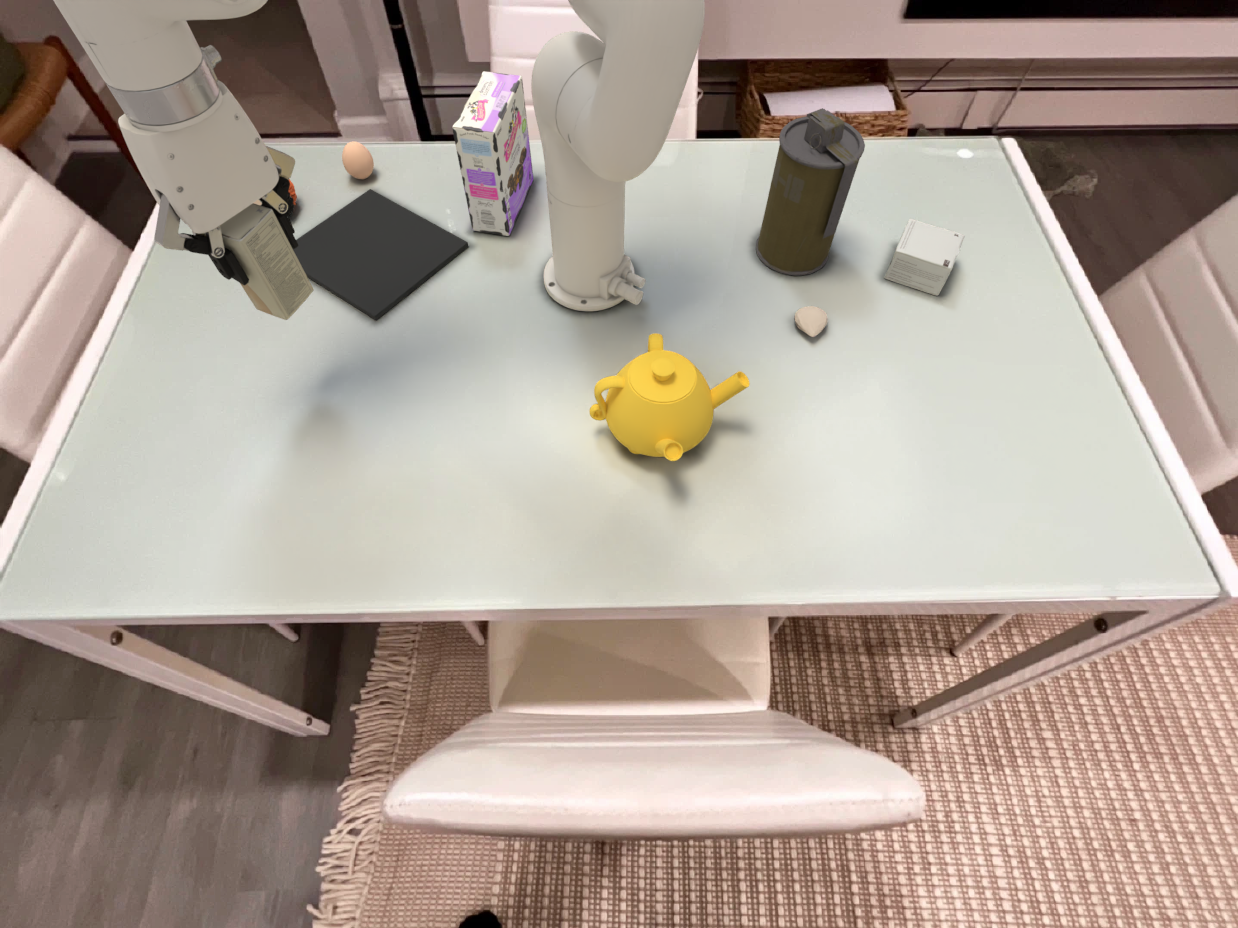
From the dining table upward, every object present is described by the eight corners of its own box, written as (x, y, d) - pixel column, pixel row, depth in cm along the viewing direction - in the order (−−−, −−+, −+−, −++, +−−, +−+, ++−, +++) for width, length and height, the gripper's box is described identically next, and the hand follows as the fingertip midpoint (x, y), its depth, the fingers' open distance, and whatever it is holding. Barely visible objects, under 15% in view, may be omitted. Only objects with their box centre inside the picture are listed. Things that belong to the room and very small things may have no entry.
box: (284, 279, 79) (239, 195, 70) (316, 290, 78) (274, 206, 69) (253, 311, 76) (202, 227, 67) (286, 323, 76) (238, 240, 66)
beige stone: (823, 316, 95) (828, 302, 93) (827, 344, 92) (832, 331, 90) (791, 314, 95) (795, 301, 93) (794, 342, 92) (798, 329, 90)
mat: (468, 246, 101) (467, 242, 101) (376, 320, 94) (374, 316, 93) (371, 193, 108) (370, 188, 107) (277, 258, 100) (275, 253, 99)
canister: (741, 241, 102) (766, 109, 86) (798, 218, 105) (834, 86, 88) (786, 287, 97) (823, 157, 81) (845, 262, 100) (892, 131, 83)
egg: (350, 168, 111) (338, 134, 106) (378, 167, 111) (368, 133, 106) (347, 186, 108) (334, 153, 104) (376, 184, 109) (365, 151, 104)
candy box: (510, 237, 102) (494, 132, 88) (471, 232, 103) (449, 126, 89) (535, 179, 110) (523, 73, 96) (498, 174, 110) (482, 68, 96)
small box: (897, 245, 102) (910, 216, 98) (951, 263, 100) (966, 233, 96) (882, 279, 99) (894, 250, 94) (938, 298, 97) (953, 269, 92)
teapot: (668, 501, 79) (676, 445, 70) (578, 435, 84) (574, 375, 75) (742, 422, 85) (758, 361, 76) (654, 365, 90) (659, 301, 80)
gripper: (222, 28, 62) (302, 201, 77) (41, 124, 55) (169, 295, 70) (280, 54, 60) (350, 228, 75) (99, 158, 52) (218, 327, 68)
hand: (262, 259), depth 72 cm, fingers closed on box, 5 cm apart
